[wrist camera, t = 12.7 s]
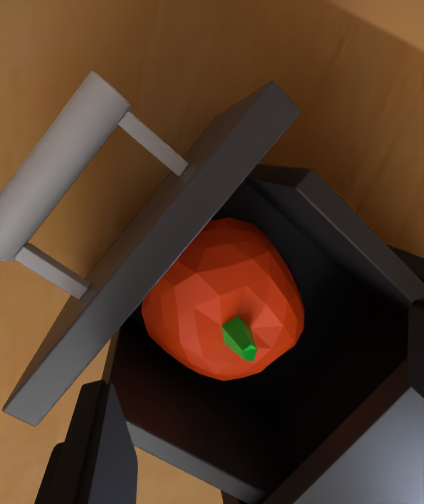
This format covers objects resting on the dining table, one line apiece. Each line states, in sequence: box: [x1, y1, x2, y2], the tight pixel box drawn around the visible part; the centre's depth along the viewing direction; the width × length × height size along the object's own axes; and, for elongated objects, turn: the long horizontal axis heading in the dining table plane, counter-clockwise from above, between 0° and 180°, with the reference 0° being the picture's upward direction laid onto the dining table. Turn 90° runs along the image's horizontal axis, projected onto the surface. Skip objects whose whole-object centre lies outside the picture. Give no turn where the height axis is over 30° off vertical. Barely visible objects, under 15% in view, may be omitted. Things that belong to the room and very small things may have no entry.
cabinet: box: [221, 244, 424, 504], centre depth 19 cm, size 16×14×10 cm
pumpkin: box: [142, 218, 305, 381], centre depth 15 cm, size 7×8×6 cm
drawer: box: [0, 71, 424, 504], centre depth 15 cm, size 19×13×8 cm, turn 49°
